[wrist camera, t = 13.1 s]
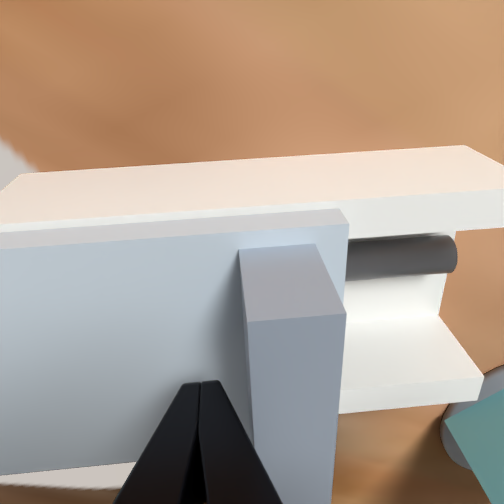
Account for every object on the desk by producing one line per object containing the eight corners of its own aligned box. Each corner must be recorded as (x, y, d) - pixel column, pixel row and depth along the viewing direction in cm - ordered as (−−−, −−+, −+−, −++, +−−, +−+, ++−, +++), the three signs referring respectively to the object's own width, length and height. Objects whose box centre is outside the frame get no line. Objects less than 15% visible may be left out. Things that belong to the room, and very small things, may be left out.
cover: (-20, 452, 12) (-87, 581, 10) (-134, 241, 9) (-287, 345, 6) (325, 418, 13) (357, 530, 10) (339, 208, 10) (392, 289, 7)
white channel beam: (78, 358, 16) (47, 442, 13) (20, 173, 12) (-42, 227, 9) (427, 327, 16) (476, 400, 13) (464, 145, 13) (542, 185, 10)
